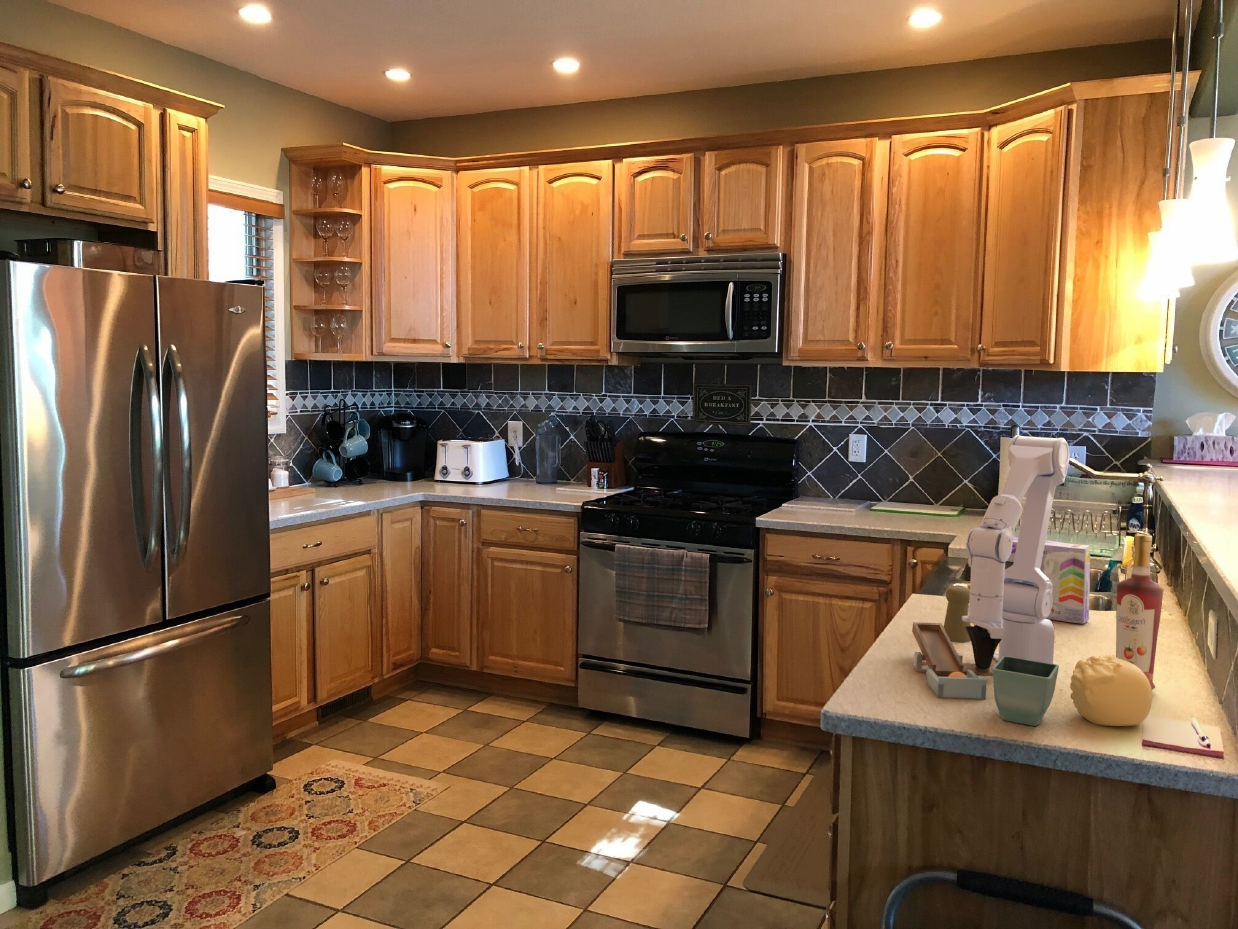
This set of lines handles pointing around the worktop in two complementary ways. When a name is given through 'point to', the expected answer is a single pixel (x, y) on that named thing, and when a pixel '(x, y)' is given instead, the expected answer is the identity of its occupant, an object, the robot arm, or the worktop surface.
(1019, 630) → the robot arm
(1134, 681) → the sculpture
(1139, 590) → the liquor
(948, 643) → the lever
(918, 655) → the fulcrum
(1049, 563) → the cake pan box
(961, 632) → the olive green pepper shaker
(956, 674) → the ball
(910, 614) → the worktop surface
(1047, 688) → the flower pot
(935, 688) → the dish
